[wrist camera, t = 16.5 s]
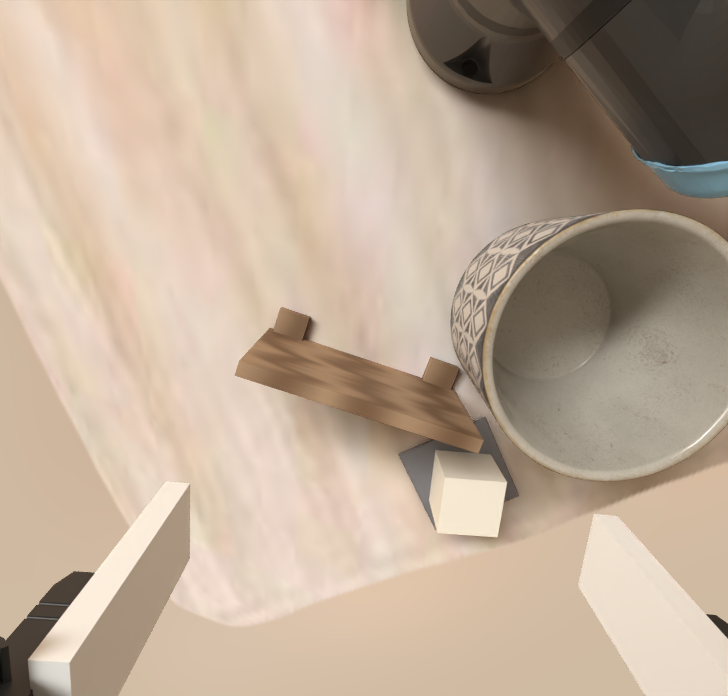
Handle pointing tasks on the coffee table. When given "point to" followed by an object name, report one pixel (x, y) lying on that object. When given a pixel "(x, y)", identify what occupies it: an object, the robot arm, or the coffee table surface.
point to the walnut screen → (360, 384)
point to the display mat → (423, 455)
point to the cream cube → (466, 493)
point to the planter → (600, 340)
